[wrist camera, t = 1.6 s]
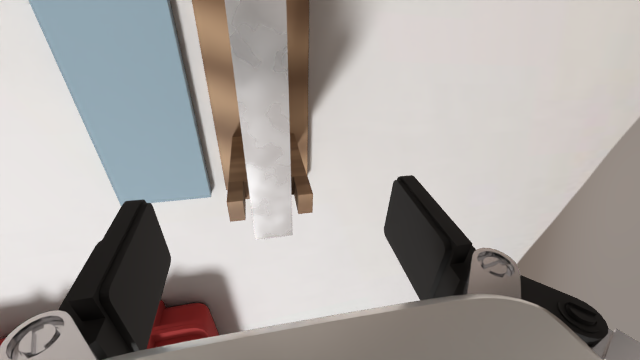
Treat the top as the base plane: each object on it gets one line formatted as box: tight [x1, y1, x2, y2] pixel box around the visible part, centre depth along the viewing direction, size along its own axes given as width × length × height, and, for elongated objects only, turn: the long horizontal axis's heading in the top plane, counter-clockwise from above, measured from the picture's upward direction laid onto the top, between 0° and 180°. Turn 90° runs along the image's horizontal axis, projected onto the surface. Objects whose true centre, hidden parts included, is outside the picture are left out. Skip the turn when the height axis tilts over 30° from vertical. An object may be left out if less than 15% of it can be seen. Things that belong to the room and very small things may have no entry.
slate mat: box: [29, 0, 212, 206], centre depth 27 cm, size 30×10×1 cm, turn 178°
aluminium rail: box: [225, 0, 293, 240], centre depth 20 cm, size 22×3×3 cm, turn 178°
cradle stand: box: [192, 0, 313, 222], centre depth 25 cm, size 28×10×13 cm, turn 178°
